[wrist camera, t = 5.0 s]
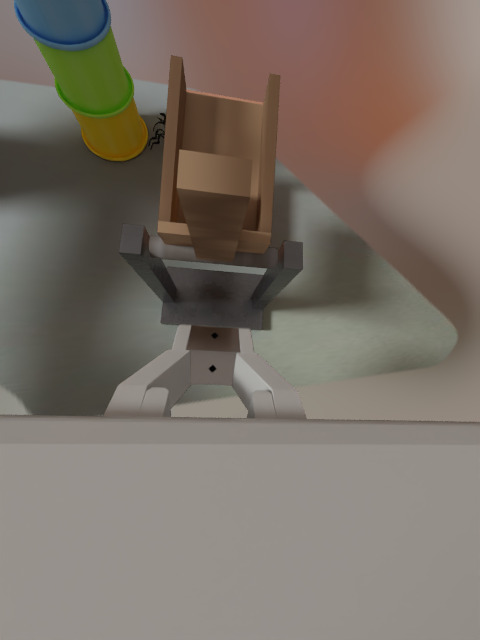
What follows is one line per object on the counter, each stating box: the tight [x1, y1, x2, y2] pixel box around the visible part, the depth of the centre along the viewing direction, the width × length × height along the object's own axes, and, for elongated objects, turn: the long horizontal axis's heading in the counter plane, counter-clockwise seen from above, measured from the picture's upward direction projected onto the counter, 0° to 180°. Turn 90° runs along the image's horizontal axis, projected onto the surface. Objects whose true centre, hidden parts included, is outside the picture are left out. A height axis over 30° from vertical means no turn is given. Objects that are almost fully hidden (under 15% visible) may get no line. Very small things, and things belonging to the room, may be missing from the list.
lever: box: [149, 55, 280, 269], centre depth 15 cm, size 10×14×11 cm
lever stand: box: [119, 224, 303, 330], centre depth 27 cm, size 15×8×17 cm, turn 88°
